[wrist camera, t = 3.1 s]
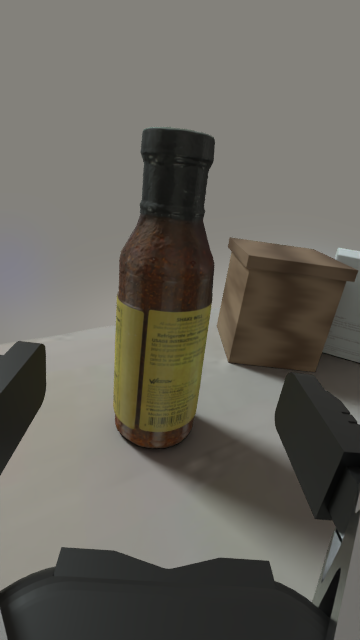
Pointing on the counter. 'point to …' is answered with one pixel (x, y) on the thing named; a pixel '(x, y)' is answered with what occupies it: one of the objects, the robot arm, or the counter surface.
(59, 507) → the counter surface
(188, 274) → the sauce bottle
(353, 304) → the supplement box
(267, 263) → the brown wooden box
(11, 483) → the counter surface
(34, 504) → the counter surface
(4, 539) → the counter surface
